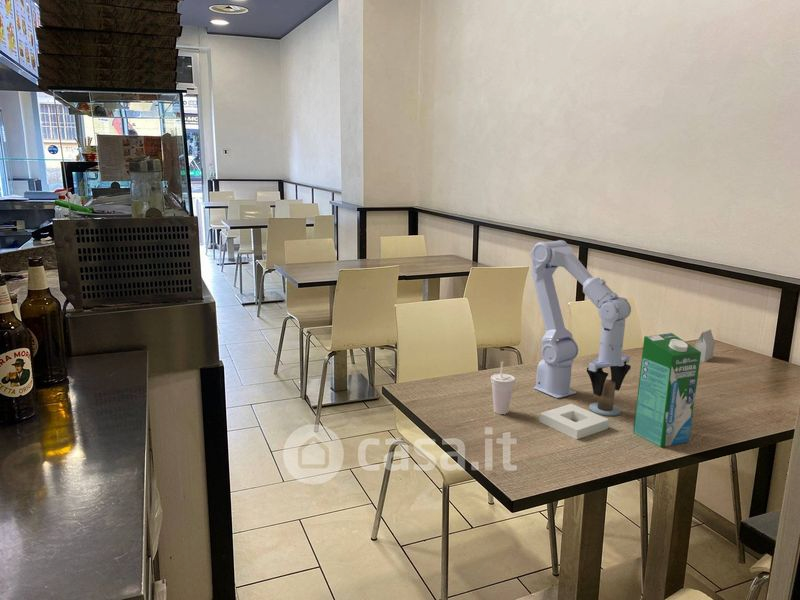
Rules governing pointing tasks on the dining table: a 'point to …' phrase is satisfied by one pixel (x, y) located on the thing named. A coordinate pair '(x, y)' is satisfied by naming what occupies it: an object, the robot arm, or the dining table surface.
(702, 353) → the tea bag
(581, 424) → the holder block
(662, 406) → the milk carton
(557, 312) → the robot arm
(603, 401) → the walnut dowel
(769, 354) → the dining table surface
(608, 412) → the coaster
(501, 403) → the smoothie
